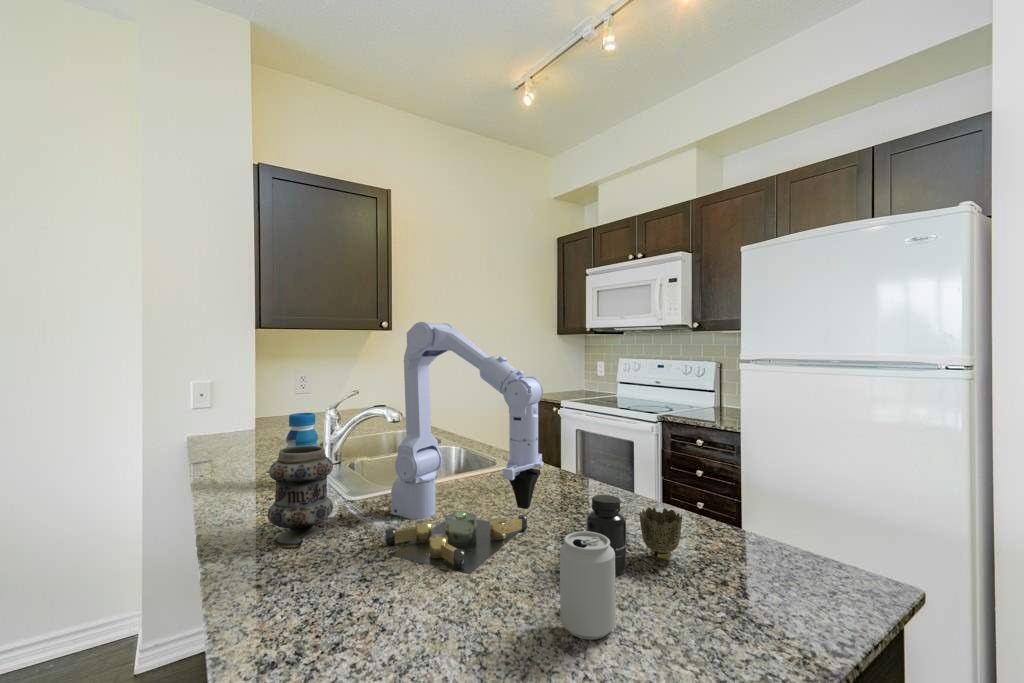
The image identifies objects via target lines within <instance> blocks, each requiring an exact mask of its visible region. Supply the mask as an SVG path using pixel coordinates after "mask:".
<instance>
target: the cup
mask: <svg viewBox="0 0 1024 683" xmlns="http://www.w3.org/2000/svg"><path fill="white" fill-rule="evenodd" d="M638 514H639V523H640V530H641V536H642V540H643V542H644V544H645V546H646V547H647V548H648V549H649V550H650V551H649V552H650V556H651V557H652V559H654V560H655V561H659V562H666V561H669V560H671V558H672V552H673V551H675V550H676V549H677V547H678V546H679V545H680V544H679V543H680V539H681V533H682V532H681V531H682V523H683V515H682V514H680V513H679V512H677V513H676V512H675V510H674V509H670V510H668V509H667V508H666V507H665V508H663V510H662V512H661V511H657V509H656V508H655V507H653V508H652V507H647V508H646V509H644V508H642V510H640V511H639V513H638Z"/></svg>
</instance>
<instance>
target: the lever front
mask: <svg viewBox="0 0 1024 683" xmlns="http://www.w3.org/2000/svg"><path fill="white" fill-rule="evenodd" d="M430 557H432V558H444V559H446V560H448V561H450V562H451V563H453V564H454V567H456V568H462V567H464V565H465V557H464V550H463V549H457V548H455V547H453V546H451V545H449V544H448V536H447V535H445V534H434V535H432V536H430Z"/></svg>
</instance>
